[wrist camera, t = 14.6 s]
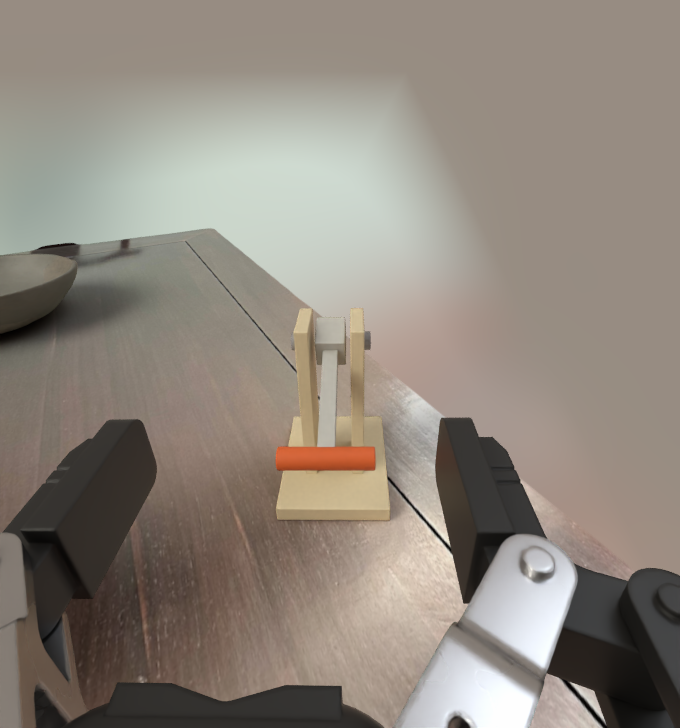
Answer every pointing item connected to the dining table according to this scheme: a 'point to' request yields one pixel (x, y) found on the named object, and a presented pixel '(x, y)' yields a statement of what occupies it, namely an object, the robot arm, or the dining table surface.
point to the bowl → (32, 287)
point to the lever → (327, 412)
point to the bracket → (336, 488)
